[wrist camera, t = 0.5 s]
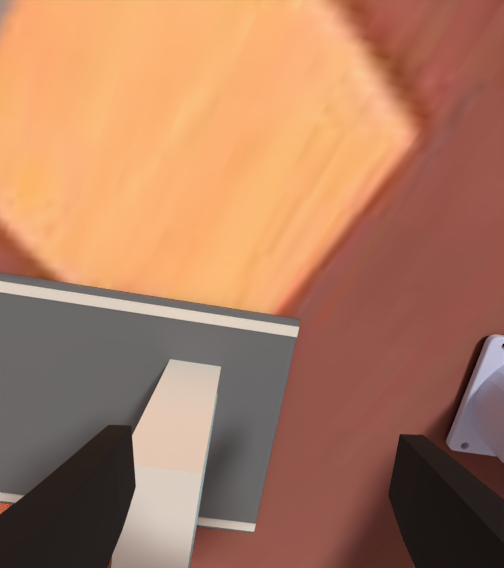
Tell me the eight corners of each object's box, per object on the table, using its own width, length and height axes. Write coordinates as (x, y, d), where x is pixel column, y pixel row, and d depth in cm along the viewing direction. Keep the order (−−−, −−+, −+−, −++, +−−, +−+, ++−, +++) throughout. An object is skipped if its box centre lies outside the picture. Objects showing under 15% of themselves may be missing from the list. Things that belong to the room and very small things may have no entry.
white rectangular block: (222, 366, 19) (204, 474, 11) (203, 486, 21) (178, 639, 14) (170, 359, 19) (118, 463, 11) (156, 480, 21) (106, 632, 14)
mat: (298, 318, 18) (300, 322, 18) (253, 526, 23) (253, 535, 22) (-58, 263, 17) (-69, 265, 17) (-37, 490, 22) (-45, 498, 21)
